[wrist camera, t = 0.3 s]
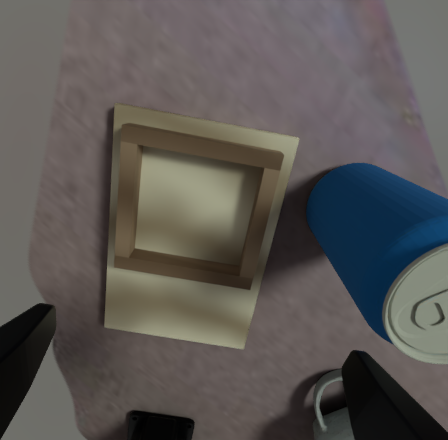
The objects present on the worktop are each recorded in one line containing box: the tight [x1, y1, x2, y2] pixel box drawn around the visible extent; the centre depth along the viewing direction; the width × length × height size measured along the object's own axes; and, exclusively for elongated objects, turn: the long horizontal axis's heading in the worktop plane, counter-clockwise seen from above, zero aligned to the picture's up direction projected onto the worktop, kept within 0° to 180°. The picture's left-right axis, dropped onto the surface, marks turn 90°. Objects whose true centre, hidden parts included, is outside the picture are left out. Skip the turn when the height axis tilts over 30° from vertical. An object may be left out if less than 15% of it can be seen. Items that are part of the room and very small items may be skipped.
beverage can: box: [306, 163, 448, 364], centre depth 17 cm, size 6×6×12 cm
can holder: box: [104, 103, 299, 349], centre depth 23 cm, size 18×12×2 cm, turn 170°
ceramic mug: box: [313, 369, 355, 440], centre depth 27 cm, size 11×8×8 cm
